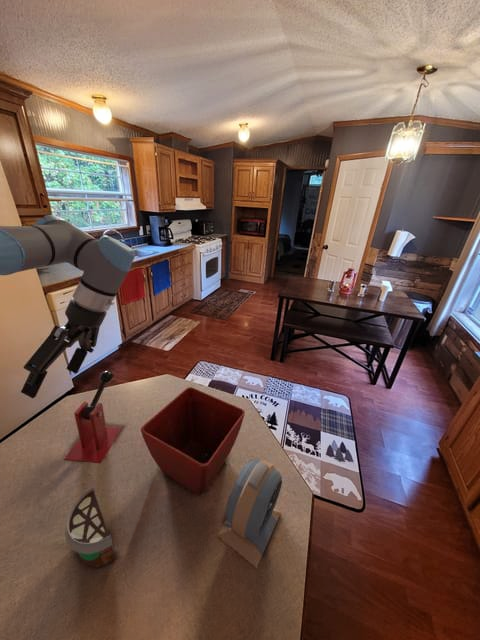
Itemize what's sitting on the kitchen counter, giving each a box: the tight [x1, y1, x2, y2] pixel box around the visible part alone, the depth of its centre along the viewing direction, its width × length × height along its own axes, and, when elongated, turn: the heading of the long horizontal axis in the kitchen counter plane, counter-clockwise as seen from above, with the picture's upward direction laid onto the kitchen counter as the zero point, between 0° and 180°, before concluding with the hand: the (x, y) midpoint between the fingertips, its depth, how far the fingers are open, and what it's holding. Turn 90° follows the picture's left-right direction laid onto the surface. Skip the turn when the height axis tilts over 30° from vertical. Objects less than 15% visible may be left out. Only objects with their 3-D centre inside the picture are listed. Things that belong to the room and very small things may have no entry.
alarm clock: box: [217, 458, 283, 569], centre depth 54 cm, size 14×10×18 cm
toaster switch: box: [63, 401, 123, 464], centre depth 70 cm, size 12×10×14 cm
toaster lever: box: [82, 370, 114, 420], centre depth 72 cm, size 14×4×4 cm, turn 177°
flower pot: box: [140, 386, 246, 497], centre depth 67 cm, size 19×19×17 cm
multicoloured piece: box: [65, 486, 116, 569], centre depth 49 cm, size 12×6×10 cm, turn 42°
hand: (52, 381), depth 60 cm, fingers open, 13 cm apart
